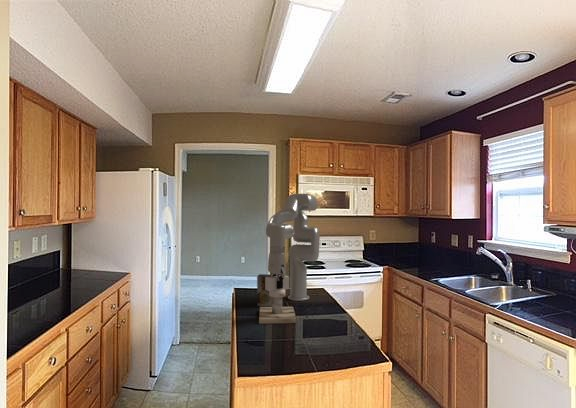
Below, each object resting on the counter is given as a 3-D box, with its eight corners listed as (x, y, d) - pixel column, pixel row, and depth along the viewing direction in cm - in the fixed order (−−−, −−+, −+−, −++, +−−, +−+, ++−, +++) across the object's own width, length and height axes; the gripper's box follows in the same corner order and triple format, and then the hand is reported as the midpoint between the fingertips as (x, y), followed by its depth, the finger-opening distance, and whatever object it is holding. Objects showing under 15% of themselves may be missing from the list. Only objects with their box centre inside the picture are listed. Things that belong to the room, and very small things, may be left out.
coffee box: (275, 303, 194) (275, 274, 194) (273, 306, 188) (273, 276, 188) (258, 302, 195) (259, 273, 195) (256, 306, 188) (256, 276, 189)
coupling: (263, 294, 171) (263, 276, 171) (283, 292, 176) (283, 274, 176) (272, 299, 162) (272, 280, 162) (293, 297, 167) (293, 278, 167)
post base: (260, 311, 179) (260, 291, 179) (293, 310, 180) (293, 291, 180) (259, 323, 159) (259, 301, 159) (296, 323, 160) (296, 301, 160)
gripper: (262, 248, 175) (262, 285, 175) (279, 252, 161) (279, 291, 161) (275, 247, 179) (275, 283, 179) (293, 251, 165) (292, 290, 165)
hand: (277, 287), depth 170 cm, fingers closed on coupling, 4 cm apart
